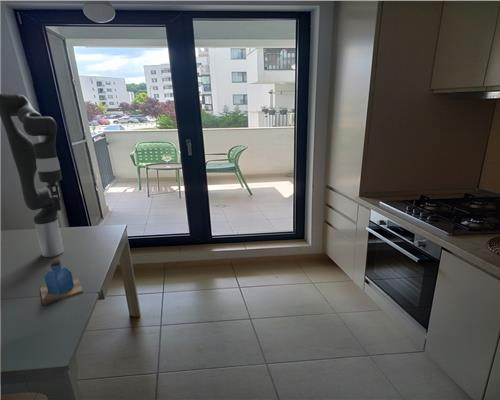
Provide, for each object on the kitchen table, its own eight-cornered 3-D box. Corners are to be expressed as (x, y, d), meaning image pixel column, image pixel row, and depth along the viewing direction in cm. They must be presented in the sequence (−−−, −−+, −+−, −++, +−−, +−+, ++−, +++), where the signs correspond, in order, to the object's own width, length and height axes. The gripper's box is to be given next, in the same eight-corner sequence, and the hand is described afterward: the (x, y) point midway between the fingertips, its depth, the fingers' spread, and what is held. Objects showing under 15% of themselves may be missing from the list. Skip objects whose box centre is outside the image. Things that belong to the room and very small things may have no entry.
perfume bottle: (59, 294, 112) (53, 266, 109) (48, 291, 114) (41, 264, 111) (74, 286, 118) (68, 259, 115) (62, 283, 120) (56, 256, 117)
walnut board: (40, 289, 118) (40, 287, 117) (77, 278, 125) (77, 276, 125) (43, 305, 108) (42, 303, 107) (83, 292, 115) (82, 290, 115)
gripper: (62, 170, 114) (69, 210, 118) (58, 165, 124) (65, 202, 129) (38, 173, 109) (47, 214, 114) (36, 167, 120) (44, 205, 125)
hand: (56, 207), depth 122 cm, fingers open, 8 cm apart
